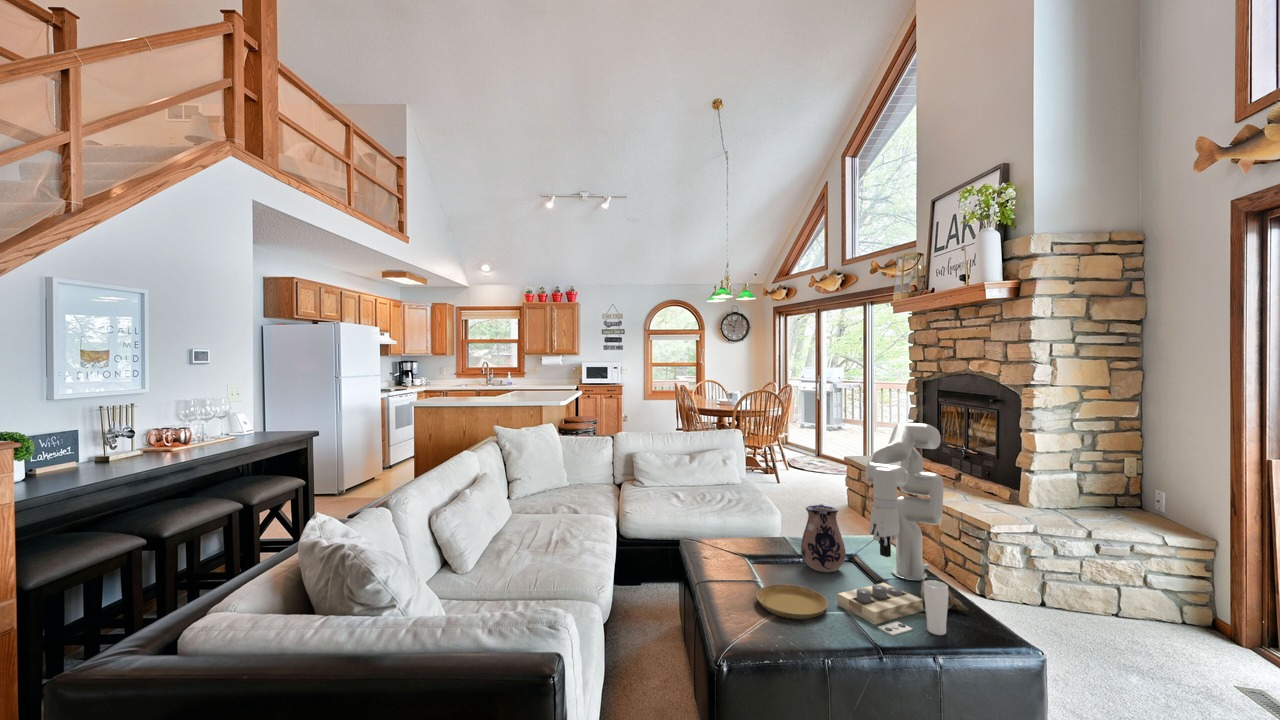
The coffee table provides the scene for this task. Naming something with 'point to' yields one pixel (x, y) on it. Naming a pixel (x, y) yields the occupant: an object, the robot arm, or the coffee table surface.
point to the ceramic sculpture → (951, 601)
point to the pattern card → (895, 628)
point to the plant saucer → (792, 601)
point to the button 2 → (894, 591)
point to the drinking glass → (936, 606)
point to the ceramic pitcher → (822, 540)
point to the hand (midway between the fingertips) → (885, 555)
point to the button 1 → (863, 596)
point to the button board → (881, 605)
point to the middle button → (879, 592)
